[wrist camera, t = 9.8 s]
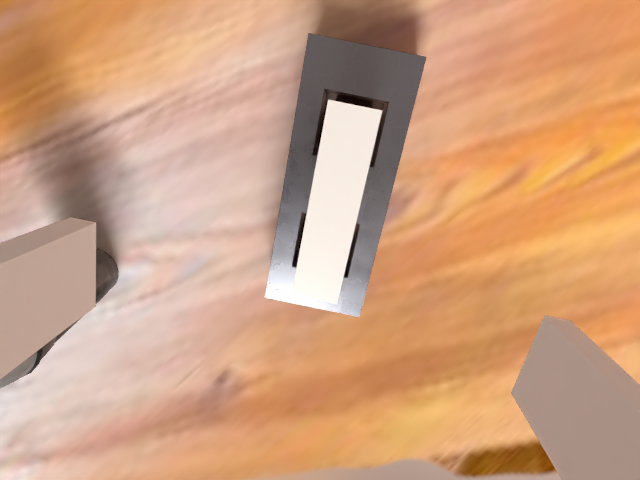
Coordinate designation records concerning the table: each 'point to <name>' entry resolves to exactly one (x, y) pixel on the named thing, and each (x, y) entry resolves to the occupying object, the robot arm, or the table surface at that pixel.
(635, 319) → the table surface
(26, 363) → the beverage cup
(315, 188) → the white arch
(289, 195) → the cinder block
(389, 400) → the table surface
